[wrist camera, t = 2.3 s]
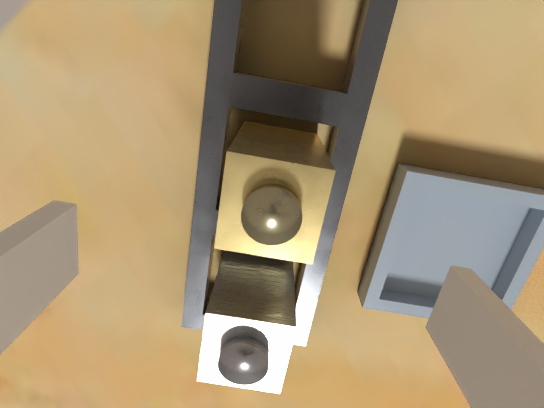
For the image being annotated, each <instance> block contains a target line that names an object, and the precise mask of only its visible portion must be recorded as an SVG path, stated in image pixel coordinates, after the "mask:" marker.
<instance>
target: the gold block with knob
mask: <svg viewBox="0 0 544 408" xmlns="http://www.w3.org/2000/svg"><path fill="white" fill-rule="evenodd" d="M335 172H336V170H335V168H334V166H333V164H332V162H331V160H330V158H329V156H328V154H327V152H326V150H325V148H324V146H323V144H322V142H321V140H320V138H319V136H318V134H316V133H310V132H305V131H299V130H293V129H288V128H282V127H277V126H271V125H266V124H260V123H255V122H249V121H245V122H244V124H243V125H242V127H241V129H240V130H239V132H238V134H237V135H236V137H235V138H234V140H233V142H232V143H231V145H230V146H229V148H228V150H227V152H226V159H225V167H224V175H223V183H222V190H221V198H220V206H219V214H218V221H217V229H216V237H215V245H214V248H215V249H221V250H227V251H233V252H239V253H245V254H251V255H257V256H263V257H269V258H275V259H281V260H287V261H293V262H300V263H306V264H313V260H314V256H315V252H316V248H317V244H318V240H319V236H320V232H321V228H322V224H323V220H324V216H325V212H326V208H327V204H328V200H329V196H330V192H331V188H332V184H333V180H334V176H335Z"/></svg>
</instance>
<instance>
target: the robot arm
mask: <svg viewBox="0 0 544 408" xmlns="http://www.w3.org/2000/svg"><path fill="white" fill-rule="evenodd" d="M77 275H78V234H77V204H73V203H67V202H61V201H55V200H54V201H52V202H50V203H49V204H47V205H45V206H44V207H42V208H40V209H39V210H37V211H35V212H33V213H32V214H30V215H28V216H27V217H25V218H23V219H22V220H20V221H18V222H17V223H15V224H13V225H12V226H10V227H8V228H7V229H5V230H3V231H2V232H0V355H1V354H2V353H3V352H4V350H5V349H6V348H7V347H8V346H9V345H10V344H11V343H12V342H13V341H14V340H15V339H16V338H17V337H18V336H19V335H20V334H21V333H22V332H23V331H24V330H25V329H26V328H27V327H28V326H29V324H30V323H31V322H32V321H33V320H34V319H35V318H36V317H37V316H38V315H39V314H40V313H41V312H42V311H43V310H44V309H45V308H46V307H47V306H48V305H49V304H50V303H51V302H52V301H53V300H54V299H55V297H56V296H57V295H58V294H59V293H60V292H61V291H62V290H63V289H64V288H65V287H66V286H67V285H68V284H69V283H70V282H71V281H72V280H73V279H74V278H75V277H76V276H77ZM426 329H427V331H428V333H429V334H430V336H431V338H432V340H433V341H434V343H435V345H436V347H437V348H438V350H439V352H440V354H441V355H442V357H443V359H444V361H445V362H446V364H447V366H448V368H449V369H450V371H451V373H452V375H453V376H454V378H455V380H456V382H457V384H458V385H459V387H460V389H461V391H462V392H463V394H464V396H465V398H466V399H467V401H468V403H469V405H470V406H471V408H544V344H543V343H542V342H541V341H540V340H539V339H538V338H537V337H536V336H535V335H534V334H533V332H532V331H531V330H530V329H529V328H528V327H527V326H526V325H525V324H524V323H523V322H522V321H521V320H520V319H519V318H518V317H517V316H516V315H515V314H514V313H513V312H512V311H511V310H510V309H509V307H508V306H507V305H506V304H505V303H504V302H503V301H502V300H501V299H500V298H499V297H498V296H497V295H496V294H495V293H494V292H493V291H492V290H491V289H490V288H489V287H488V286H487V285H486V284H485V282H484V281H483V280H482V279H481V278H480V277H479V276H478V275H477V274H476V273H475V272H474V271H473V270H472V269H470V268H464V267H458V266H452V265H451V266H450V268H449V271H448V273H447V276H446V278H445V281H444V283H443V285H442V288H441V290H440V293H439V295H438V298H437V300H436V303H435V305H434V308H433V310H432V312H431V315H430V317H429V320H428V322H427V325H426Z"/></svg>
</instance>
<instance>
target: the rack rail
mask: <svg viewBox="0 0 544 408" xmlns="http://www.w3.org/2000/svg"><path fill="white" fill-rule="evenodd" d="M397 2H398V0H364V2H363V6H362V10H361V14H360V19H359V23H358V27H357V31H356V35H355V40H354V44H353V48H352V52H351V57H350V61H349V65H348V69H347V73H346V78H345V82H344V86H343V90H342V91H337V90H331V89H326V88H321V87H315V86H310V85H304V84H299V83H294V82H288V81H283V80H278V79H272V78H267V77H261V76H256V75H251V74H245V73H240V72H237V66H238V58H239V51H240V43H241V35H242V27H243V20H244V12H245V4H246V0H215V3H214V12H213V22H212V32H211V42H210V52H209V62H208V72H207V82H206V92H205V102H204V111H203V121H202V131H201V141H200V151H199V161H198V171H197V181H196V191H195V201H194V210H193V220H192V230H191V240H190V250H189V260H188V270H187V280H186V290H185V300H184V309H183V319H182V327H185V328H191V329H198V330H203V328H204V321H205V313H206V310H207V306H208V303H209V300H210V299H207V298H208V290H209V282H210V275H211V267H212V259H213V251H214V244H215V236H216V229H217V221H218V214H219V206H220V197H221V190H222V182H223V174H224V166H225V159H226V151H227V143H228V136H229V128H230V120H231V112H232V107H233V108H238V109H244V110H249V111H255V112H260V113H266V114H271V115H277V116H282V117H288V118H293V119H299V120H304V121H310V122H315V123H321V124H326V125H332V126H334V128H333V133H332V137H331V141H330V145H329V150H328V156H329V158H330V160H331V162H332V164H333V166H334V168H335V170H336V172H335V176H334V180H333V184H332V188H331V192H330V196H329V200H328V204H327V208H326V212H325V216H324V220H323V224H322V228H321V232H320V236H319V240H318V244H317V248H316V252H315V256H314V260H313V264H306V263H302V264H301V268H300V272H299V277H298V281H297V285H296V289H295V308H296V326H297V328H296V332H295V336H294V340H293V344H294V345H300V346H306V342H307V338H308V335H309V331H310V327H311V323H312V320H313V316H314V312H315V308H316V305H317V301H318V297H319V293H320V290H321V286H322V282H323V279H324V275H325V271H326V267H327V264H328V260H329V256H330V252H331V249H332V245H333V241H334V237H335V234H336V230H337V226H338V222H339V219H340V215H341V211H342V207H343V204H344V200H345V196H346V193H347V189H348V185H349V181H350V178H351V174H352V170H353V166H354V163H355V159H356V155H357V151H358V148H359V144H360V140H361V136H362V133H363V129H364V125H365V121H366V118H367V114H368V110H369V106H370V103H371V99H372V95H373V92H374V88H375V84H376V80H377V77H378V73H379V69H380V65H381V62H382V58H383V54H384V50H385V47H386V43H387V39H388V35H389V32H390V28H391V24H392V20H393V17H394V13H395V9H396V6H397Z"/></svg>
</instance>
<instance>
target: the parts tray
mask: <svg viewBox="0 0 544 408" xmlns="http://www.w3.org/2000/svg"><path fill="white" fill-rule="evenodd" d="M543 247H544V189H540V188H535V187H529V186H524V185H518V184H512V183H507V182H501V181H496V180H490V179H484V178H479V177H473V176H468V175H462V174H456V173H451V172H445V171H440V170H434V169H428V168H423V167H417V166H412V165H406V164H400V163H398V164H397V168H396V171H395V174H394V177H393V180H392V183H391V187H390V190H389V193H388V196H387V199H386V203H385V206H384V209H383V212H382V215H381V219H380V222H379V225H378V228H377V231H376V234H375V238H374V241H373V244H372V247H371V250H370V254H369V257H368V260H367V263H366V266H365V269H364V273H363V276H362V279H361V282H360V285H359V289H358V292H357V293H358V296H359V299H360V302H361V305H362V308H367V309H373V310H379V311H385V312H391V313H398V314H404V315H410V316H416V317H422V318H429V317H430V315H431V312H432V310H433V308H434V305H435V303H436V300H437V298H438V295H439V293H440V290H441V288H442V285H443V283H444V281H445V278H446V276H447V273H448V271H449V268H450V266H451V265H452V266H458V267H464V268H470V269H472V270H473V271H474V272H475V273H476V274H477V275H478V276H479V277H480V278H481V279H482V280H483V281H484V282H485V284H486V285H487V286H488V287H489V288H490V289H491V290H492V291H493V292H494V293H495V294H496V295H497V296H498V297H499V298H500V299H501V300H502V301H503V302H504V303H505V304H506V305H507V306H508V307H509V309H510V310H511V309H512V307H513V305H514V304H515V302H516V300H517V298H518V296H519V294H520V292H521V290H522V288H523V286H524V284H525V282H526V280H527V278H528V276H529V274H530V272H531V271H532V269H533V267H534V265H535V263H536V261H537V259H538V257H539V255H540V253H541V251H542V249H543Z"/></svg>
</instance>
